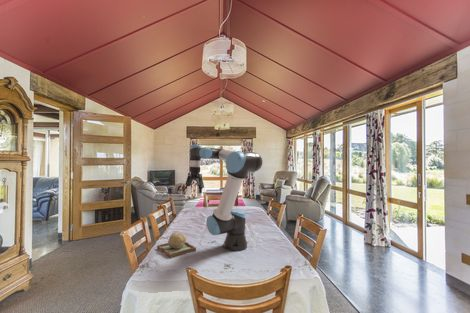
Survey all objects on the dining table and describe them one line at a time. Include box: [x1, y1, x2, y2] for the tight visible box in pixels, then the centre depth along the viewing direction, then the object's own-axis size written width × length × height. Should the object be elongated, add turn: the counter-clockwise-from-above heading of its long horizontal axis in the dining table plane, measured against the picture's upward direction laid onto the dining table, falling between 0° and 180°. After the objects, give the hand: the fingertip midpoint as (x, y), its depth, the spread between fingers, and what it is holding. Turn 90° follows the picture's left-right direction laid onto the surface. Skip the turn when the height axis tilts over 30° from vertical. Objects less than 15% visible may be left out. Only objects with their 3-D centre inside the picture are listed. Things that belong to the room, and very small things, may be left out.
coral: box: [167, 231, 187, 249], centre depth 145 cm, size 10×10×10 cm
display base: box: [156, 241, 197, 259], centre depth 145 cm, size 17×17×2 cm
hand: (194, 196), depth 169 cm, fingers open, 13 cm apart
